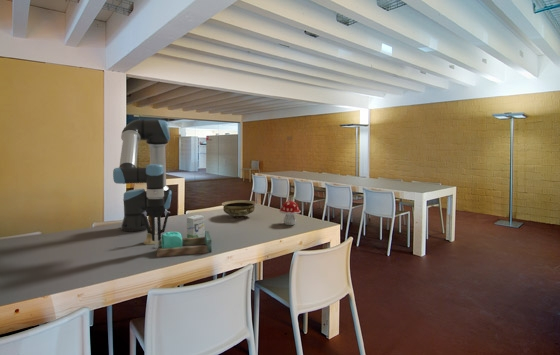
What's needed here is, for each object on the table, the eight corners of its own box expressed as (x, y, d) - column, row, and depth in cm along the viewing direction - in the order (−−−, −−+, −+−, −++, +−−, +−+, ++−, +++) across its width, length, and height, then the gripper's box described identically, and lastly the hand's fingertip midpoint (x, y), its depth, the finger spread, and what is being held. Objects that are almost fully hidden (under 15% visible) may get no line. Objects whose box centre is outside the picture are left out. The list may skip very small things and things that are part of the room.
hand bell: (143, 245, 159) (142, 214, 158) (143, 240, 167) (142, 210, 165) (161, 243, 163) (160, 212, 161) (160, 239, 170) (159, 209, 169)
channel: (157, 256, 143) (156, 243, 143) (159, 246, 158) (159, 234, 158) (211, 252, 150) (211, 239, 150) (208, 242, 165) (208, 230, 165)
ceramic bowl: (218, 213, 234) (218, 200, 233) (250, 211, 242) (250, 198, 241) (225, 223, 206) (225, 208, 205) (261, 220, 214) (261, 206, 213)
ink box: (198, 235, 178) (198, 214, 177) (205, 236, 175) (204, 215, 174) (186, 239, 171) (186, 217, 170) (193, 240, 168) (193, 218, 167)
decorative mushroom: (294, 220, 215) (294, 198, 213) (304, 225, 202) (304, 201, 201) (275, 222, 209) (275, 199, 207) (284, 227, 196) (285, 203, 195)
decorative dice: (182, 251, 151) (182, 234, 150) (165, 254, 147) (164, 237, 146) (178, 246, 158) (178, 230, 157) (161, 249, 154) (161, 232, 153)
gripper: (139, 199, 143) (140, 250, 145) (169, 198, 146) (171, 248, 148) (141, 196, 150) (142, 246, 152) (170, 196, 153) (171, 243, 156)
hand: (156, 247), depth 150 cm, fingers closed
